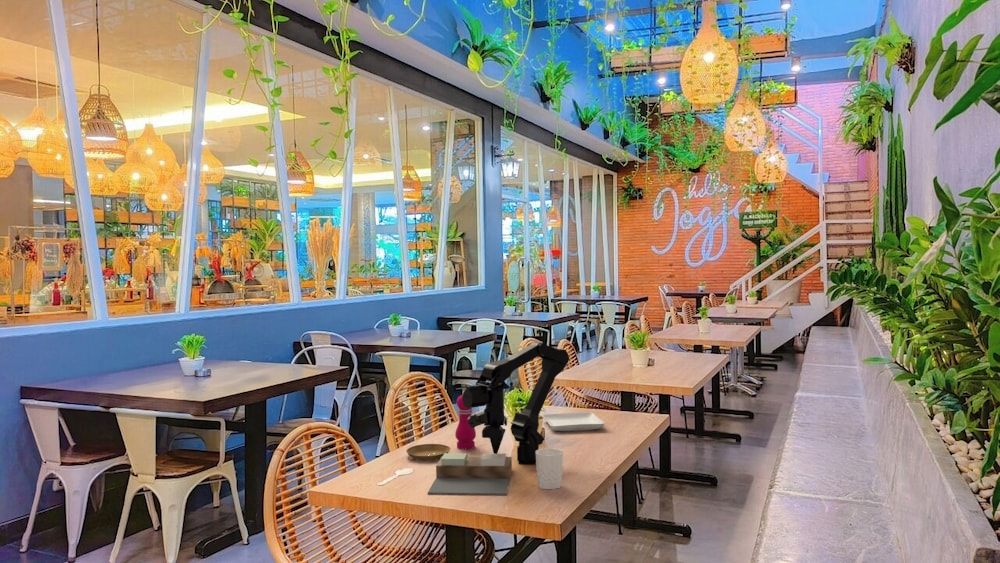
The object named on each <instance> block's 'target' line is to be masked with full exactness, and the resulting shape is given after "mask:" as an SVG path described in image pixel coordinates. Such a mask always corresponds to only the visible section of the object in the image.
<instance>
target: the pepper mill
mask: <svg viewBox="0 0 1000 563" xmlns="http://www.w3.org/2000/svg"><path fill="white" fill-rule="evenodd" d="M465 390H466V389H464V390H463V391H462V394H461V395H459V396H458V397H457V399H456V406H457V407H458V409H457V410H458V411H457V413H458V414H459V420H458V421H459V422H458V424H457V427H456V430H455V435H454V436H455V438H456V440H457V442H456V448H457V449H460V450H471V449H474V448H475V446H476V445H475V438H476V436H477V434H476V433H477V432H476V427H475V428H471V427H470V425H469V424H468V417H469V416H471V415H472V413H473V408H466V407H465V406H464V404H463V400H462V396H463V393H464V391H465Z"/></svg>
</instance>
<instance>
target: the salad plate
mask: <svg viewBox="0 0 1000 563" xmlns="http://www.w3.org/2000/svg"><path fill="white" fill-rule="evenodd" d="M541 416H542V418H543V419H544V420H545V422H547V423H548V425H549V427H550V428H551V429H552V430H553V431H557V432H580V431H581V432H582V431H583V432H584V431H594V429H595V430H598V429H601V428H602V427H604V426H605V424H606V423H605V422H604V421H603V420H601V419H600V417H598V416H597V415H596V414H595V413H593V412H565V413H549V414H548V413H547V414H542V415H541Z"/></svg>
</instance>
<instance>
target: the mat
mask: <svg viewBox="0 0 1000 563" xmlns="http://www.w3.org/2000/svg"><path fill="white" fill-rule="evenodd" d="M509 484H510V480H509V479H485V478H436V477H435V479H434V480H433V482H432V484H431V486H430V488H429V489H428V492H427V495H448V496H449V495H455V496H456V495H458V496H459V495H460V496H461V495H463V496H467V495H468V496H506V495H507V493H506V492H507V491H508V488H509Z"/></svg>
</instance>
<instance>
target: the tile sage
mask: <svg viewBox="0 0 1000 563" xmlns="http://www.w3.org/2000/svg"><path fill="white" fill-rule="evenodd" d="M467 457H468V453H467V452H465V453H461V452H460V453H457V452H456V453H453V452H452V453H451V452H448V453H444V455H443V457H442V458H441V465H453V466H464V465H465V463H466V461H467Z"/></svg>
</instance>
